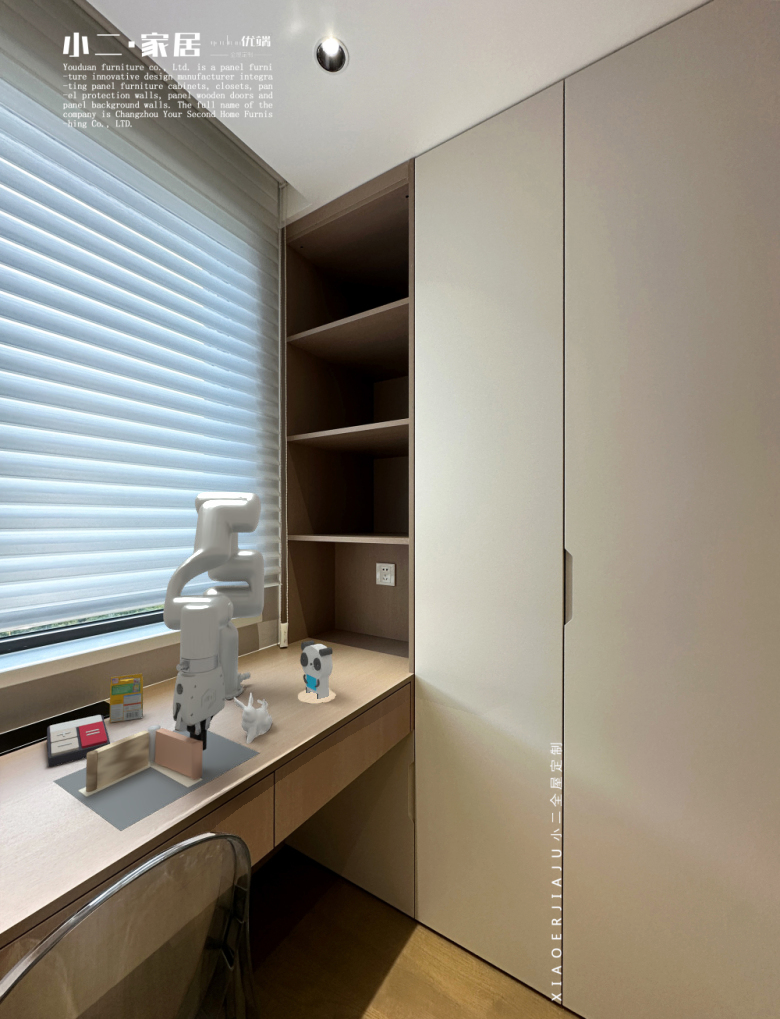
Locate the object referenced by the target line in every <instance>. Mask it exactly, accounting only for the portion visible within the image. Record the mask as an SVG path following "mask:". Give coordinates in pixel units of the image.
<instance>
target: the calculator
mask: <svg viewBox="0 0 780 1019" xmlns="http://www.w3.org/2000/svg"><path fill="white" fill-rule="evenodd" d="M46 731H47V732H46V747H47V748H46V749H47V750H46V751H47V765H48V766H47V767H48V768H53V767H56V766H60V765H64V764H68V763H71V762H75V761H80V760H83V759H87V753H88V752H90V751H94V750H96V749H98V748H101V747H103V746H106V745H108V744H111V741H110V737H109V733H108V730H107V726H106V721H105V718H104V715H101V714H96V715H93V716H87V717H83V718H78V719H75V720H69V721H65V722H60V723H56V724H52V725H49V726H47V728H46Z"/></svg>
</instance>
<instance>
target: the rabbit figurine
mask: <svg viewBox="0 0 780 1019" xmlns="http://www.w3.org/2000/svg"><path fill="white" fill-rule="evenodd" d="M233 699H234V704H235V706H237V707H238V708H240V709H241V710H243V711H242V716H241V717H242V720H241V723H240V724H241V726H240V727H241V728H242V730H243V731H244V732H246V736H247V737H246V742H245V744H251V743H252V742H253V741H254V739H255V738H257V737H258V736H259V735H265V733H267V732H268V731H270V729H271V726H272V724H273V718H272V715H271V714H270V713H269V711H268V706H269V705H268V701H266V699H265V698H263V699H262V700H261V699H257V700H256V701H257V703H258V704H260V705H261V706H260V707H258V708H255V707H254V706H253V704H254V696H253V694H252V692H249V697H248V702H247V706H246V705H245V704H244V703H243V702H242V701H240V700H238V698H237V697H234V698H233Z"/></svg>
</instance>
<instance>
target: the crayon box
mask: <svg viewBox="0 0 780 1019" xmlns="http://www.w3.org/2000/svg"><path fill="white" fill-rule="evenodd" d="M109 692H110V693H109V723H110V724H112V723H111V722H113V723H117V722H124V721H130V720H137V719H142V718H143V714H144V707H143V706H144V677H143V673H142V672H141V673H134V674H126V675H125V674H124V675H118V676H117V675H116V676H111V677H110V685H109Z"/></svg>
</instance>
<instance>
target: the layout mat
mask: <svg viewBox="0 0 780 1019" xmlns="http://www.w3.org/2000/svg"><path fill="white" fill-rule="evenodd" d="M172 731H173V732H176V733H179V734H181V735H184V736H187V737H190V732H187V730H186V731H182V732H179V731H176V730H175V729H174V730H172ZM257 755H260V752H259V751H258V750H257V751H256V750H254V749H252V748H250V747H249V746H248V747H247V746H245V745H243V744H241V743H238V742H235V741H234V740H231V739H229V738H227V737H224V736H222V735H220V734H218V733H215V732H213V731H211V730H209V729H208V730H207V748H206V750H204V751H203V752H202V776H201V777H200V778H198V779H192V778H191V777H189V776H187V775H184V774H182V773H180V772H177V771H175V770H172V769H170V768H167V767H165V766H163V765H160V764H158V763H155V761H153V762H149V761H148V765H147V766H145V767H143V768H141V769H139V770H137V771H135V772H132V773H130V774H128V775H126V776H124V777H122V778H120V779H117V780H115V781H113V782H111V783H109V784H107V785H104V786H102V787H100V788H98V789H96V790H94V791H92V792H86V767H84V768H81V769H79V770H77V771H74V772H72V773H70V774H67V775H65V776H62V777H60V778H57V779H55V780H53V782H54V784H56V785H58V786H59V787H60V788H62V789H63V790H64V791H66V792H67V793H68V794H70V795H71V796H73V797H74V798H75V799H77V801H79V802H81V803H82V804H84V806H86V807H87V808H89V809H91V810H92V811H93V812H94V813H96V814H97V815H99V816H100V817H101V818H102V819H104V820H105V821H106V822H108V823H109V824H110V825H112V826H113V827H115V829H117V830H118V831H120V832H122V831H124V830H125V829H127V828H129V827H131V826H132V825H134V824H136V823H138V822H140V821H141V820H143V819H145V818H147V817H149V816H151V815H152V814H154V813H155V812H157V811H160V810H161V809H163V808H165V807H166V806H168V805H170V804H172V803H173V802H175V801H177V800H179V799H180V798H183V797H184V796H186V795H188V794H190V793H191V792H192V793H193V791H195V790H197V789H199V788H201V787H202V786H203V785H206V784H207V783H209V782H211V781H213V780H215V779H216V778H218V777H220V776H222V775H223V774H225V773H227V772H229V771H231V770H232V769H234V768H236V767H238V766H239V765H241V764H243V763H245V762H247V761H248V760H251V759H252V758H254V757H256V756H257Z"/></svg>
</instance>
